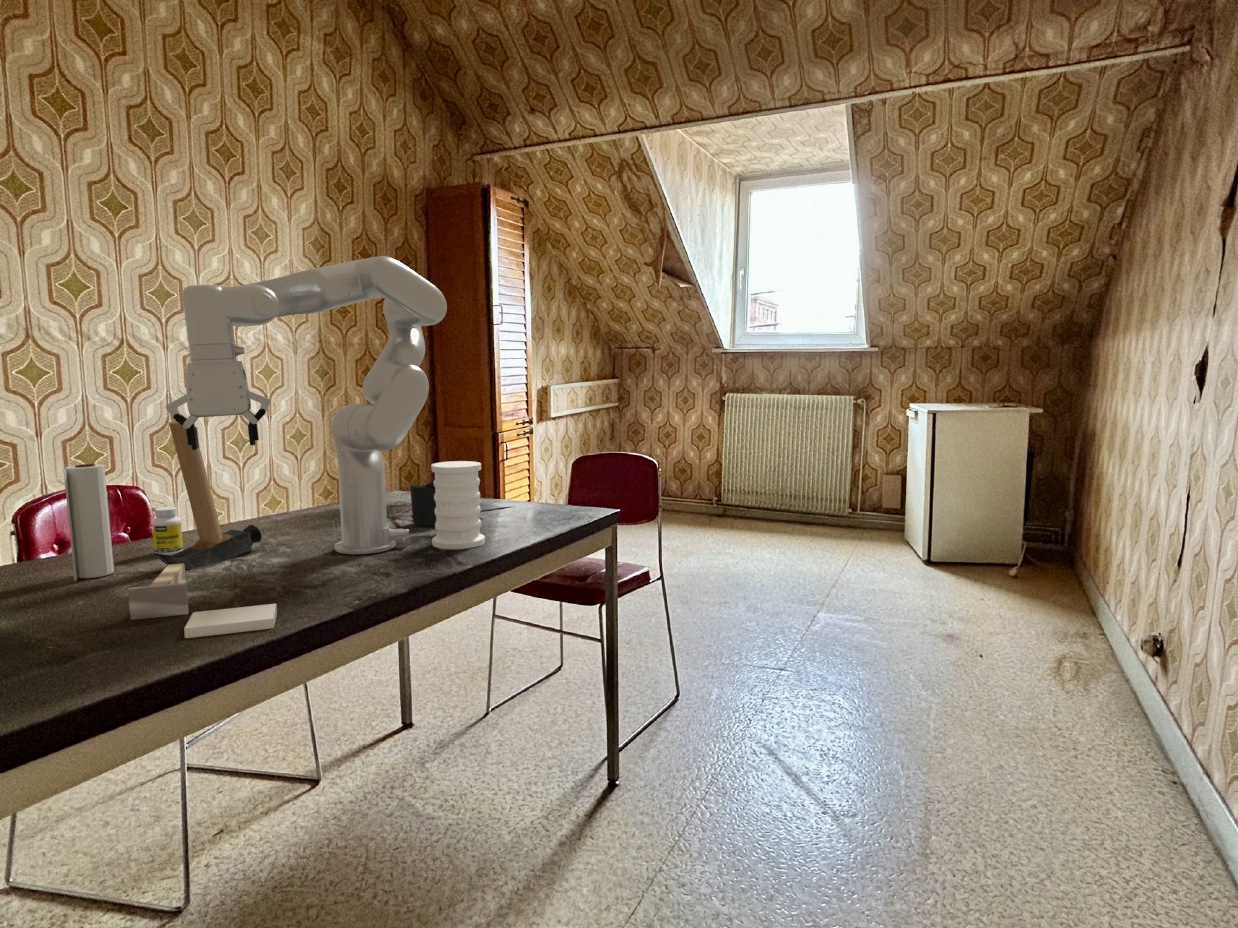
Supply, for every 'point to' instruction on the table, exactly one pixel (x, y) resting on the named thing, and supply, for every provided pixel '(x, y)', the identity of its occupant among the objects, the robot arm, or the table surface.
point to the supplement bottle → (167, 531)
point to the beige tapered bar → (161, 595)
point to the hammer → (204, 513)
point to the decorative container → (457, 505)
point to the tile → (231, 620)
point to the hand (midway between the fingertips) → (224, 446)
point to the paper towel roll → (88, 520)
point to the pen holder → (423, 505)
